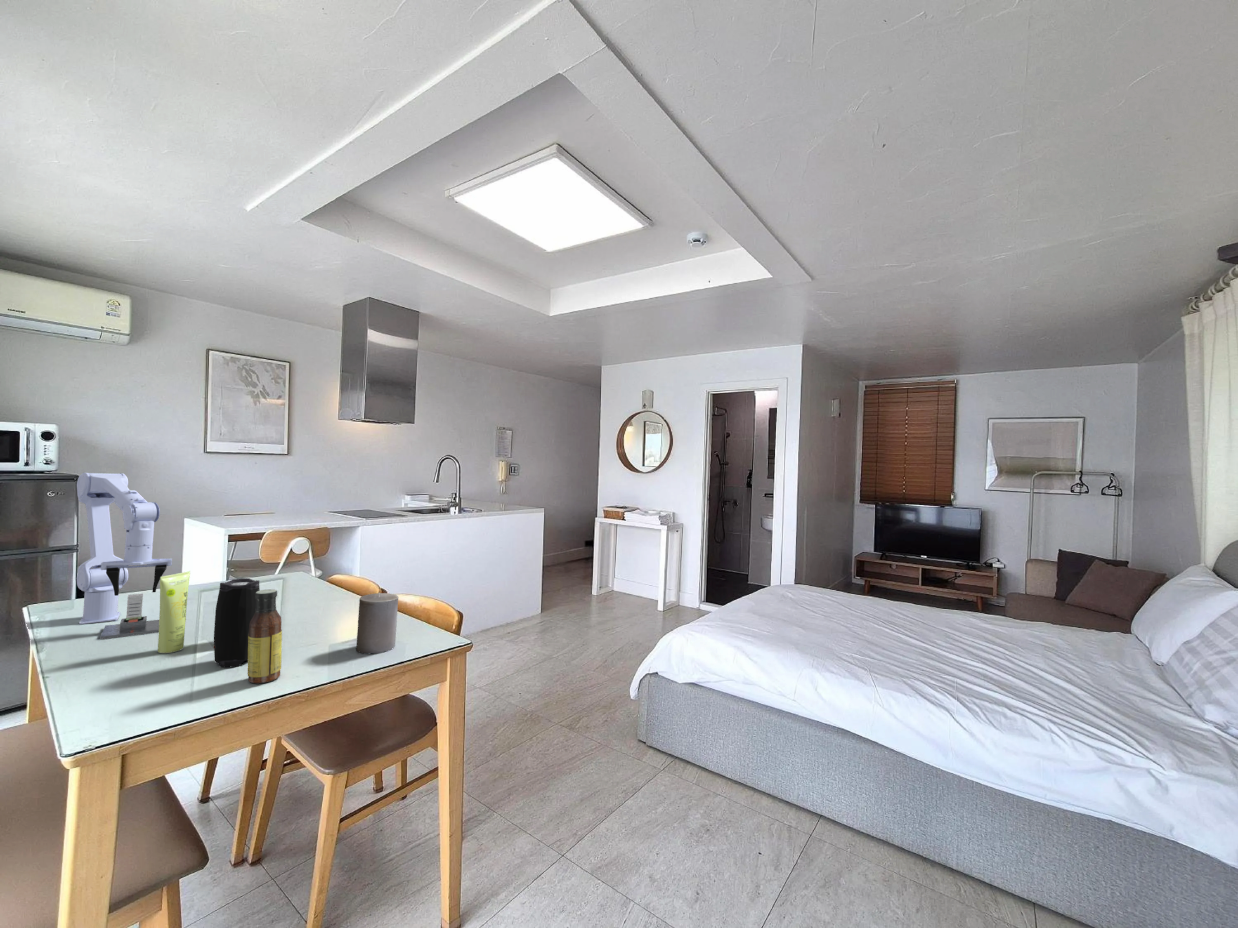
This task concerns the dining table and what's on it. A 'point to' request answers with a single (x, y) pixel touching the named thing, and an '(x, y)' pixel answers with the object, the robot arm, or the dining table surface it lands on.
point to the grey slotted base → (130, 628)
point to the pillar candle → (377, 623)
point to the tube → (172, 611)
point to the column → (134, 606)
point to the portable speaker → (234, 620)
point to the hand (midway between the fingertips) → (135, 593)
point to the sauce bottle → (264, 639)
